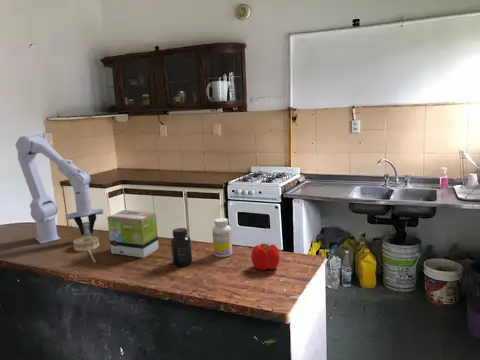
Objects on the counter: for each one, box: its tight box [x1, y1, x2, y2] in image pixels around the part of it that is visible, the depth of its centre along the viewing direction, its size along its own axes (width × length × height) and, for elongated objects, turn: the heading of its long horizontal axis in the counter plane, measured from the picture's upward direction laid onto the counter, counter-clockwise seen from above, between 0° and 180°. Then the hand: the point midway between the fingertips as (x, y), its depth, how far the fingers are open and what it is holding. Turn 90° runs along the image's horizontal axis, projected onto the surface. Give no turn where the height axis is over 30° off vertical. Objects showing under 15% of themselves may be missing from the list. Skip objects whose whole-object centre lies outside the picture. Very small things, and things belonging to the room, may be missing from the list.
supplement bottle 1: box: [170, 227, 193, 268], centre depth 138 cm, size 7×7×12 cm
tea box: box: [106, 209, 160, 259], centre depth 152 cm, size 15×10×15 cm
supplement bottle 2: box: [212, 217, 233, 258], centre depth 145 cm, size 7×7×13 cm
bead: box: [72, 235, 100, 252], centre depth 161 cm, size 9×9×3 cm
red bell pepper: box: [251, 242, 281, 271], centre depth 132 cm, size 9×9×8 cm
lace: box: [87, 250, 97, 263], centre depth 150 cm, size 14×1×1 cm, turn 28°
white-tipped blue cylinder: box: [82, 221, 92, 237], centre depth 168 cm, size 3×3×7 cm
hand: (86, 233), depth 168 cm, fingers closed on white-tipped blue cylinder, 3 cm apart
